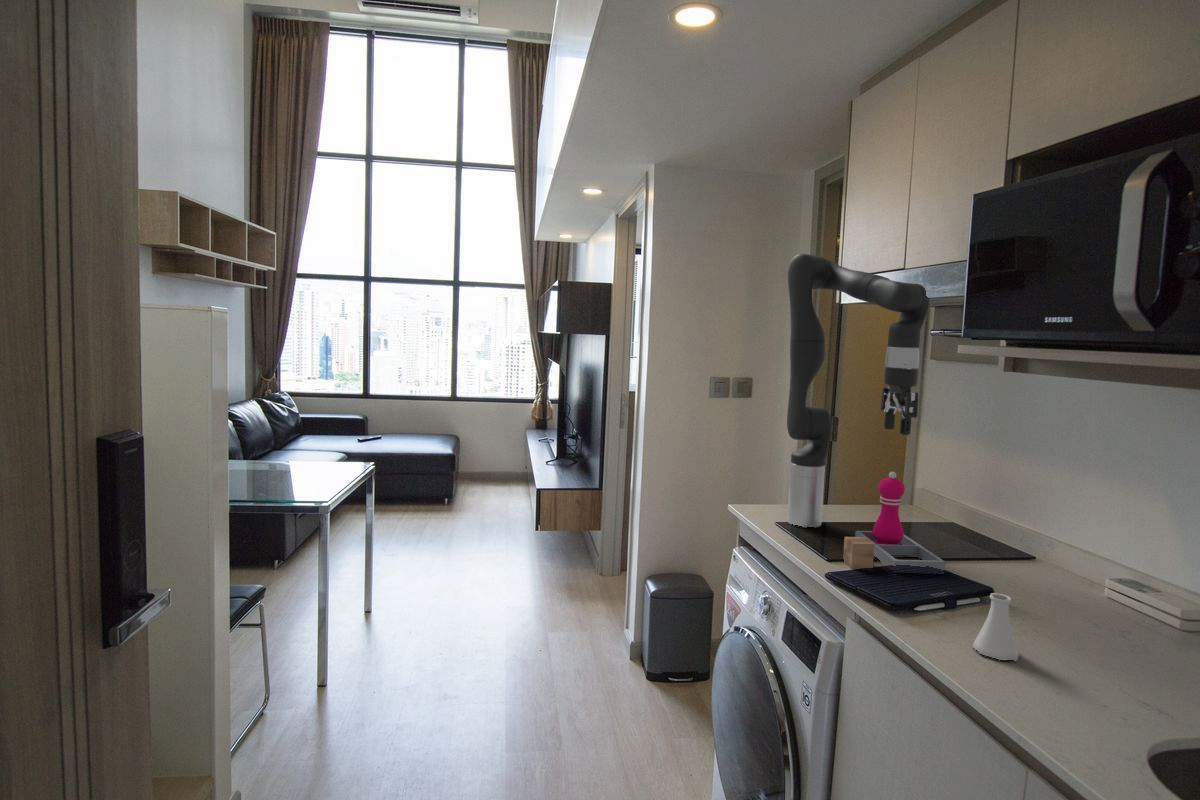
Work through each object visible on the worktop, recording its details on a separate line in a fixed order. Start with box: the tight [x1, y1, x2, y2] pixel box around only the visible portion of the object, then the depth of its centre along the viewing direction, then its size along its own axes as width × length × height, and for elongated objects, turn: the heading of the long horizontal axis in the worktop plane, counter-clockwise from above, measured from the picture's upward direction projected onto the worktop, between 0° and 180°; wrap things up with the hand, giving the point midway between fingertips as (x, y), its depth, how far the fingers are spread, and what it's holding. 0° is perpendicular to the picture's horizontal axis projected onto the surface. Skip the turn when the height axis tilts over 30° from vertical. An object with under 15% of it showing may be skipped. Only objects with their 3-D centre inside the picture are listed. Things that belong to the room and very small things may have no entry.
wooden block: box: [842, 536, 874, 570], centre depth 157 cm, size 5×5×6 cm
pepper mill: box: [872, 471, 906, 545], centre depth 167 cm, size 7×7×20 cm
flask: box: [971, 592, 1020, 661], centre depth 115 cm, size 7×7×10 cm
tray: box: [854, 530, 946, 571], centre depth 163 cm, size 22×12×3 cm, turn 1°
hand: (896, 431), depth 165 cm, fingers open, 8 cm apart
